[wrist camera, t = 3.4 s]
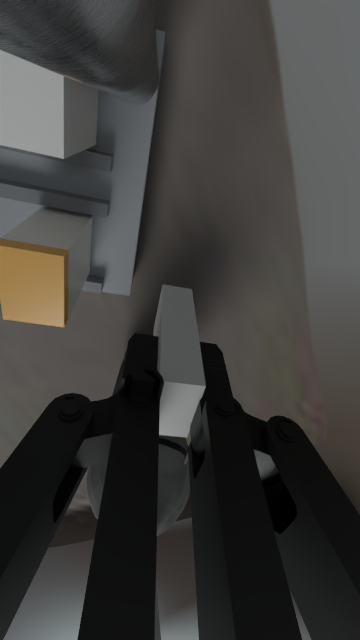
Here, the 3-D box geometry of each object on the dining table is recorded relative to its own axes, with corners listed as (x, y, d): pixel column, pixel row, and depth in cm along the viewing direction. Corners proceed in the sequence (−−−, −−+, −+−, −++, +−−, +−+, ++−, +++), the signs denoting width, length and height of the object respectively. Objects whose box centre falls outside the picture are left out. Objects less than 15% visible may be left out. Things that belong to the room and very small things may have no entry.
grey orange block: (45, 264, 21) (3, 319, 15) (43, 206, 19) (-8, 244, 13) (89, 271, 21) (64, 327, 16) (92, 215, 19) (63, 256, 14)
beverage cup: (114, 322, 28) (44, 629, 11) (191, 334, 29) (230, 626, 12) (107, 378, 32) (48, 667, 15) (175, 386, 33) (188, 661, 16)
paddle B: (40, 132, 17) (-22, 140, 11) (37, 36, 14) (-43, -16, 9) (96, 144, 17) (63, 158, 11) (100, 53, 15) (63, 15, 9)
